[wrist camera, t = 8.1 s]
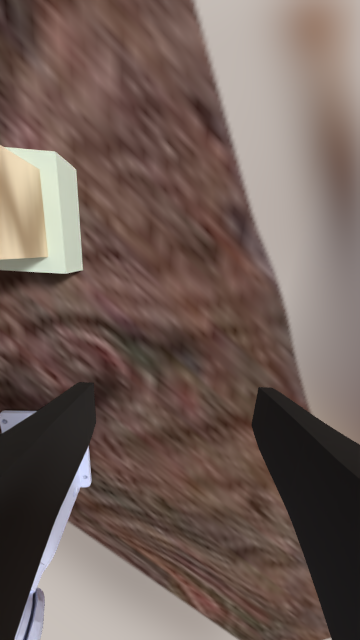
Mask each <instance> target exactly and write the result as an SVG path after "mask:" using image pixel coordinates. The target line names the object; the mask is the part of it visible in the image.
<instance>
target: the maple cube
mask: <svg viewBox="0 0 360 640" xmlns="http://www.w3.org/2000/svg"><path fill="white" fill-rule="evenodd" d="M38 257H48V248H47V238H46V228H45V218H44V208H43V198H42V188H41V178H40V169H38V168H36V167H35V166H33V165H32V164H30V163H28V162H27V161H25V160H24V159H22V158H20V157H19V156H17V155H15V154H14V153H12V152H11V151H9V150H7V149H6V148H4V147H3V146H1V145H0V260H1V259H20V258H38Z"/></svg>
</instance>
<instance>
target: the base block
mask: <svg viewBox="0 0 360 640" xmlns="http://www.w3.org/2000/svg"><path fill="white" fill-rule="evenodd" d="M4 148H6V149H7V150H9V151H11V152H12V153H14V154H15V155H17V156H19V157H20V158H22V159H24V160H25V161H27V162H28V163H30V164H32V165H33V166H35V167H36V168H38V169H40V178H41V188H42V198H43V208H44V218H45V228H46V238H47V248H48V257H38V258H20V259H1V260H0V270H8V271H26V272H44V273H62V274H67V273H72V272H76V271H81V270H83V265H82V250H81V235H80V220H79V205H78V190H77V175H76V169H75V168H74V167H73V166H72V165H70V164H69V163H68V162H67V161H66V160H65V159H63V158H62V157H61V156H60V155H59V154H58V153H56V152H54V151H42V150H30V149H19V148H7V147H4Z"/></svg>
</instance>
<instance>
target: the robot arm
mask: <svg viewBox="0 0 360 640" xmlns="http://www.w3.org/2000/svg"><path fill="white" fill-rule="evenodd" d="M6 420H7V421H6ZM95 424H96V415H95V399H94V383H84V382H79V383H77V384H76V385H74V386H73V387H71V388H70V389H68V390H67V391H65V392H64V393H63V394H61V395H60V396H58V397H57V398H55V399H54V400H53V401H51V402H50V403H48V404H47V405H45V406H44V407H42V408H41V409H40V410H38V411H12V410H4V411H2V412H1V413H0V426H1V430H2V434H0V640H40V638H41V634H42V628H43V621H44V606H45V600H44V593H43V591H42V590H41V589H40V588H37V586H38V583H39V581H40V578H41V576H42V573H43V572H44V570H45V569H46V568H47V566H48V565H49V563H50V562H51V560H52V558H53V556H54V554H55V552H56V550H57V547H58V545H59V542H60V539H61V537H62V534H63V532H64V529H65V526H66V524H67V521H68V518H69V516H70V513H71V510H72V508H73V505H74V502H75V500H76V497H77V495H78V492H79V489H80V487H88V486H90V484H91V469H90V456H89V443H90V440H91V437H92V434H93V430H94V427H95ZM252 428H253V432H254V435H255V438H256V441H257V444H258V447H259V450H260V452H261V454H262V456H263V459H264V461H265V463H266V465H267V468H268V470H269V472H270V474H271V476H272V478H273V481H274V483H275V485H276V487H277V489H278V491H279V494H280V496H281V498H282V500H283V502H284V505H285V507H286V509H287V511H288V514H289V516H290V519H291V521H292V524H293V526H294V529H295V532H296V535H297V537H298V540H299V543H300V546H301V548H302V551H303V554H304V557H305V560H306V563H307V565H308V568H309V571H310V574H311V577H312V580H313V583H314V586H315V589H316V592H317V595H318V598H319V601H320V604H321V607H322V610H323V613H324V616H325V619H326V623H327V626H328V629H329V632H330V635H331V638H332V640H360V445H359V444H357V443H356V442H354V441H352V440H351V439H349V438H347V437H346V436H344V435H343V434H341V433H340V432H338V431H336V430H335V429H333V428H332V427H330V426H328V425H327V424H325V423H324V422H322V421H321V420H319V419H318V418H316V417H315V416H313V415H312V414H310V413H309V412H308V411H306V410H305V409H303V408H302V407H300V406H299V405H297V404H296V403H295V402H293V401H292V400H290V399H289V398H287V397H286V396H284V395H283V394H281V393H280V392H278V391H277V390H275V389H273V388H263V387H259V388H258V394H257V399H256V404H255V409H254V415H253V420H252Z"/></svg>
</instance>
